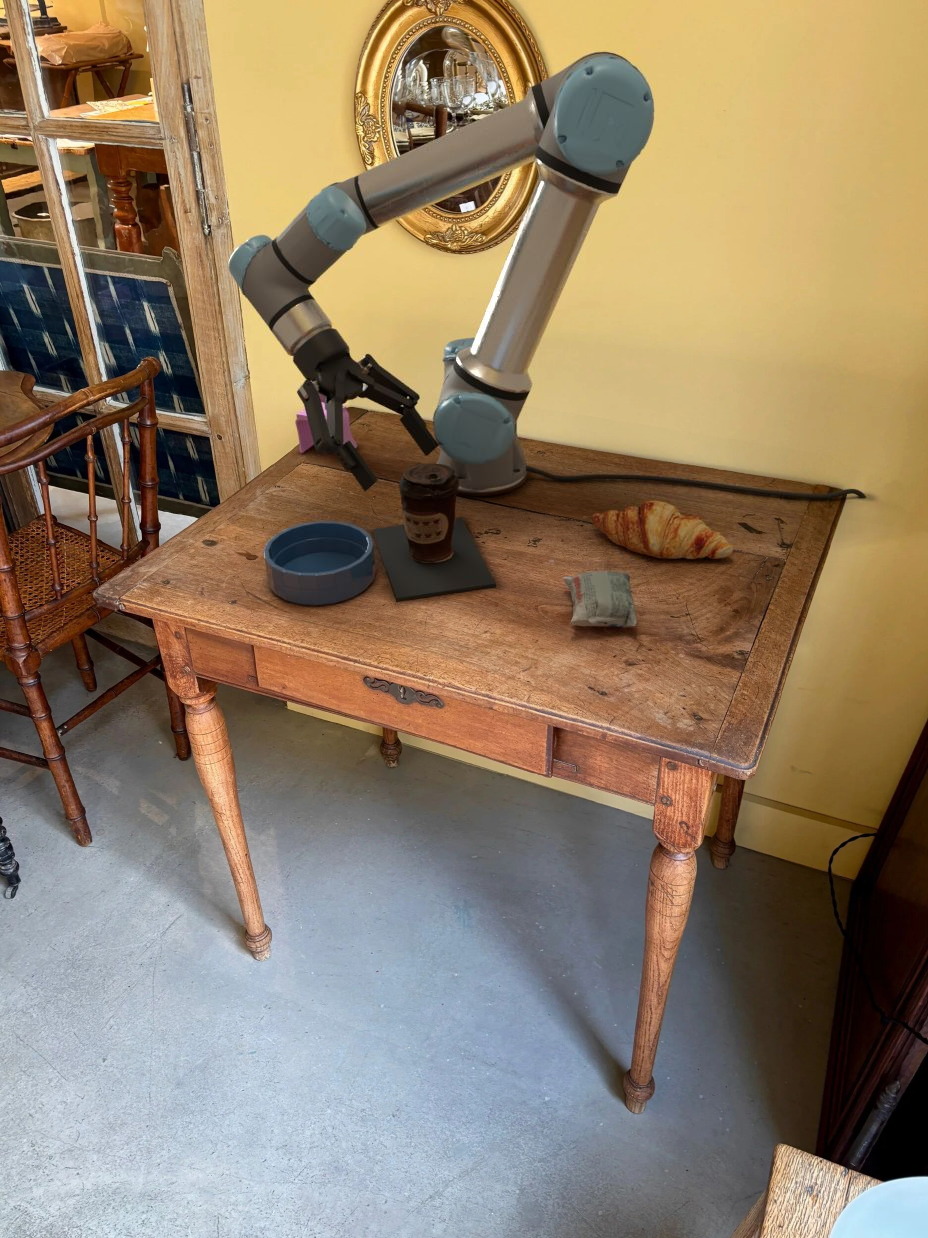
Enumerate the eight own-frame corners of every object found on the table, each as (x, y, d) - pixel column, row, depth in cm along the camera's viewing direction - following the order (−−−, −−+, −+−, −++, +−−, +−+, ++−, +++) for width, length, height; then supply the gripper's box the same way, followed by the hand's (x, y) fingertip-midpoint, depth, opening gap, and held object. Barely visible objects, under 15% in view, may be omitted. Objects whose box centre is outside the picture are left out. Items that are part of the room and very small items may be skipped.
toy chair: (318, 437, 173) (309, 357, 165) (360, 444, 170) (353, 363, 162) (294, 454, 167) (283, 372, 158) (337, 462, 164) (329, 379, 155)
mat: (461, 520, 146) (461, 516, 145) (496, 586, 130) (496, 583, 129) (372, 532, 143) (372, 528, 143) (396, 601, 127) (396, 598, 127)
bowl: (366, 544, 140) (363, 515, 137) (383, 597, 128) (381, 566, 125) (265, 558, 137) (260, 528, 134) (273, 614, 125) (268, 582, 122)
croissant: (731, 571, 138) (744, 518, 137) (723, 573, 129) (738, 516, 127) (594, 541, 145) (605, 490, 144) (577, 541, 136) (589, 486, 135)
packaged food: (568, 639, 119) (570, 607, 116) (562, 589, 129) (564, 558, 126) (637, 640, 119) (641, 608, 116) (626, 589, 128) (629, 558, 126)
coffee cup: (453, 572, 132) (450, 488, 124) (396, 566, 133) (390, 484, 126) (465, 541, 139) (464, 461, 131) (411, 537, 140) (406, 457, 133)
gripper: (358, 334, 141) (441, 449, 142) (235, 384, 124) (330, 514, 126) (383, 304, 135) (469, 424, 136) (258, 352, 119) (357, 488, 120)
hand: (403, 467), depth 131 cm, fingers open, 13 cm apart
